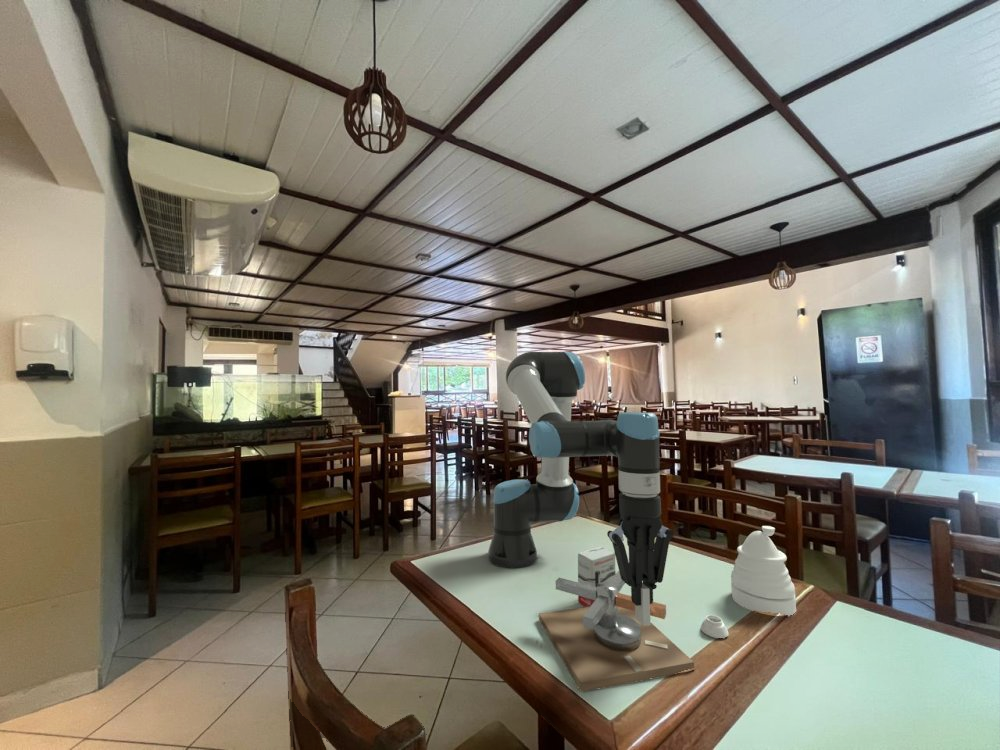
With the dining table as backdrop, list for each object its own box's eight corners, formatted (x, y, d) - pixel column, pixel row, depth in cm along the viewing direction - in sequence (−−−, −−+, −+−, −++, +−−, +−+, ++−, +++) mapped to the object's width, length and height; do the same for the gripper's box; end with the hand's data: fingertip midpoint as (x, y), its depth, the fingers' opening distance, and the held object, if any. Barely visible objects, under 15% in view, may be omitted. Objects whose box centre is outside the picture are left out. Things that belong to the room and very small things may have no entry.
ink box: (592, 612, 90) (591, 559, 90) (577, 603, 94) (576, 552, 95) (617, 601, 94) (615, 551, 95) (601, 593, 98) (600, 545, 99)
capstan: (534, 643, 75) (533, 595, 76) (577, 595, 93) (576, 556, 94) (654, 688, 63) (652, 630, 64) (676, 623, 81) (674, 578, 82)
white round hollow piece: (712, 624, 84) (695, 629, 83) (711, 610, 85) (695, 615, 83) (734, 637, 80) (717, 643, 78) (733, 622, 80) (716, 627, 78)
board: (539, 620, 86) (539, 612, 86) (628, 607, 91) (627, 600, 91) (581, 692, 65) (580, 681, 65) (694, 670, 70) (693, 660, 70)
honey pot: (799, 601, 93) (794, 525, 95) (792, 623, 84) (787, 538, 85) (738, 584, 102) (734, 515, 103) (725, 603, 93) (722, 526, 94)
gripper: (618, 499, 69) (621, 638, 67) (682, 496, 72) (686, 628, 70) (599, 490, 76) (601, 615, 75) (657, 487, 79) (661, 607, 78)
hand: (642, 621), depth 72 cm, fingers closed
